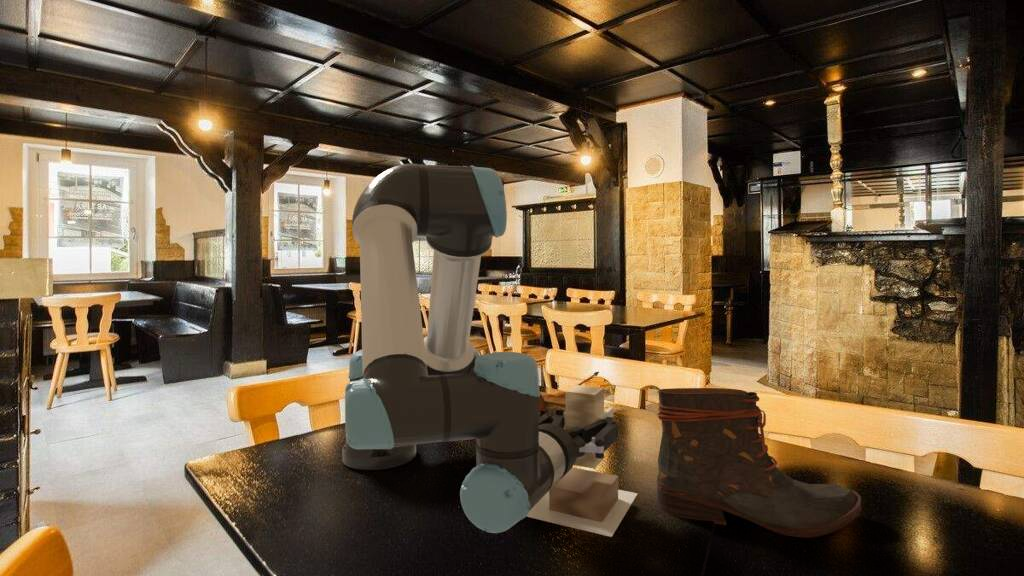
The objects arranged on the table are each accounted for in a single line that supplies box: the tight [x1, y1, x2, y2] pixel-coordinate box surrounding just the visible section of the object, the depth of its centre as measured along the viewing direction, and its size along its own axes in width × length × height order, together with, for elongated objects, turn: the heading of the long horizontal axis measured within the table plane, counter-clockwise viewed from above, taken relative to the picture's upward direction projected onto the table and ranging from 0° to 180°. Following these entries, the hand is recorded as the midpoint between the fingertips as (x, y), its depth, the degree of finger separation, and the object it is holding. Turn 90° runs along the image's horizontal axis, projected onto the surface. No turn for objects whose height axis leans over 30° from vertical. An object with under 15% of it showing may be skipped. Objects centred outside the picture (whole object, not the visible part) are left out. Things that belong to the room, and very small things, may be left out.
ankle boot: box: [656, 387, 862, 539], centre depth 84 cm, size 11×31×20 cm, turn 79°
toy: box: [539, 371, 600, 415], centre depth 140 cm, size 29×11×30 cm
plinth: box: [549, 467, 619, 522], centre depth 88 cm, size 9×9×4 cm
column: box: [564, 384, 605, 470], centre depth 87 cm, size 5×5×12 cm
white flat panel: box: [526, 489, 639, 538], centre depth 91 cm, size 26×16×1 cm, turn 63°
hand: (594, 413), depth 92 cm, fingers closed on column, 5 cm apart
